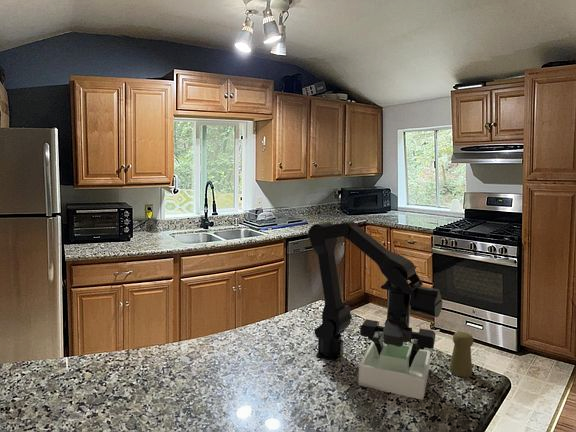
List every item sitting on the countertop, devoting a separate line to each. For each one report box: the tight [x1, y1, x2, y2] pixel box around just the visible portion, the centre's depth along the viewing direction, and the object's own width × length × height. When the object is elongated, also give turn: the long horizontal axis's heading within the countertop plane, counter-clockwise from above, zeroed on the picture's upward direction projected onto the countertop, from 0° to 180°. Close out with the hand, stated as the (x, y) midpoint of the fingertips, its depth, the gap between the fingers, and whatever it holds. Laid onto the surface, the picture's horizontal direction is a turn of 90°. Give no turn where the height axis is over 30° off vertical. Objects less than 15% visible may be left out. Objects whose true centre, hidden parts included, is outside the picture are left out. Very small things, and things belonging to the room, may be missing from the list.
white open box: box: [357, 340, 431, 401], centre depth 112 cm, size 16×16×6 cm
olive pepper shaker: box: [448, 331, 474, 378], centre depth 115 cm, size 6×6×11 cm
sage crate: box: [379, 343, 412, 374], centre depth 112 cm, size 7×9×5 cm
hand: (395, 363), depth 112 cm, fingers closed on sage crate, 7 cm apart
